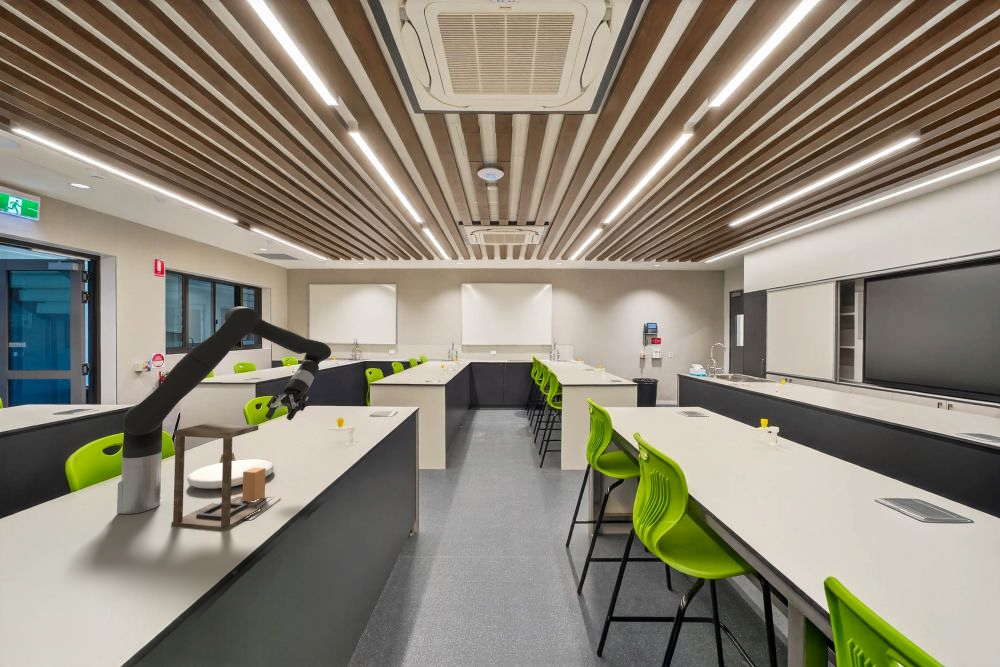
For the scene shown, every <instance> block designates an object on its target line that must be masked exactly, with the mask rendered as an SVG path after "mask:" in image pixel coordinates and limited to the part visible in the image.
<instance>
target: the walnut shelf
mask: <svg viewBox="0 0 1000 667" xmlns="http://www.w3.org/2000/svg"><path fill="white" fill-rule="evenodd" d="M255 431H259V424H246V423H245V424H242V423H222V422H220V423H218V422H207V423H202V424H198V425H193V426H189V427H184V428H181V429H176V430H173V436H174V437H175V443H174V444H175V446H174V448H175V449H174V475H173V476H174V479H173V480H174V482H173V514H172V516H173V517H172V521H171V527H173V526H174V527H182V528H191V527H192V528H193V529H202V530H212V529H214V530H213V531H222V530H223V531H224V532H226V531H228V530H229V528H230V529H231V528H234V527H235V526H237V525H239V524H240V523H242V522H244V521H245V520H244V519H245V518H246V517H247V516H249V515H250V514H252V513H254V512H256V511H258V510H259V509H261V510H262V507H261V506H249V504H248V503H244V502H243V503H242V502H241V503H239V502H232V487H231V473H232V452H233V438H235V437H239V436H241V435H242V436H243V435H245V434H250V433H253V432H255ZM187 437H190V438H209V439H222V441H223V442H222V454H223V471H222V488H221V502H220V503H219V502H218V503H214V502H212V503H210V504H208V505H206V506H203V507H201V508H199V509H196V510H195V511H192V512H190V513H188V514H186V515H183V513H184V485H185V484H184V480H185V451H186V450H185V448H186V445H185V444H186V443H185V442H186V441H185V440H186V438H187ZM243 520H244V521H243ZM241 521H242V522H241Z"/></svg>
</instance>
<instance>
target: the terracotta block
mask: <svg viewBox="0 0 1000 667" xmlns="http://www.w3.org/2000/svg"><path fill="white" fill-rule="evenodd" d="M262 497H265V498H266V477H265V468H255V467H254V468H251V469H249V470H246V471H244V472H243V484H242V500H246V501H255V500H257V499H260V498H262Z"/></svg>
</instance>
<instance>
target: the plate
mask: <svg viewBox="0 0 1000 667" xmlns="http://www.w3.org/2000/svg"><path fill="white" fill-rule="evenodd" d="M254 467H255V468H265V478H266V477H268V476H269V475H271V474H272V473H273V472H274V471H275V467H274V464H273V463H272V462H271V461H268V460H265V459H254V458H251V459H240V460H239V459H238V460H237V459H236V461H232V473H231V488H232V487H236V486H237V487H238V486H239V485H243V472H244V471H246V470H249V469H251V468H254ZM222 471H223V463H219V462H218V463H214V464H211V465H207V466H203V467H201V468H198V469H196V470H193V471H192V472H191V473H190V474H188V476H187V479H186V481H187V483H188V485H189V486H191V487H193V488H199V489H222Z"/></svg>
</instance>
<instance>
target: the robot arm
mask: <svg viewBox="0 0 1000 667" xmlns="http://www.w3.org/2000/svg"><path fill="white" fill-rule="evenodd" d="M224 321H225V322H224V323H223V324H222V325H221V326H220V327H219V328H218V329H217V331H215V332H214V333H213V334H212V335H210V336H209V337H208V338H206V339H204V340H203V341H201V342H200V343H199V344H197V345H196V346H194V347H193V348H192V349H191V350H189V351H188V352H187V353H186V354H185V355H184V356H182V358H181V359H180V360H179V361H178V362H176V364H175V365H174V366H173V367H172V369H171V370H170V371H169V372H168V373H167V375H165V377H164V379H163V380H162V381H161V382H160V383H159V385H158V387H157V388H156V389H155V390H153V391H152V393H150V394H149V395H148V396H147V397H146V398H144V399H143V400H142V401H141V402H140V403H138V404H135V405H133V406H132V407H130V408H129V409H128V410H126V413H125V414H124V417H123V419H122V426H123V441H122V452H121V457H122V458H121V480H120V481H119V482H118V483H117V498H116V514H117V515H119V514H123V515H131V514H133V515H134V514H139V513H144V512H148V511H150V510H153V509H155V508H157V507H159V505H161V492H162V490H161V489H162V488H161V484H162V483H161V482H162V458H163V457H162V453H163V452H162V451H163V425H164V424H163V423H164V420H165V419H166V418H167V417H168V415H169V414H170V413H171V412H172V410H173V409H174V408H175V407H176V406H177V404H178V403H179V402H181V400H182V399H184V398H185V397H186V396H187V395H188V394H189V393H191V392H192V391H193V390H194V389H195V388H196V387H197V386H198V385H200V383H202V382H203V380H205V379H206V378H207V377H208V376H209V375H210V373H211V372H212V371H213V370H215V368H216V367H217V366H218V365H219V364H220V363H221V362H222V361H223V359H225V357H226V356H227V355H228V354H229V352H231V350H232V349H233V348H234V347H235V346H236V345H237V344H238V343H239V342H240V341H241V340H243V339H244V338H245V337H246V336H247V335H248V334H251V335H254V336H257V337H260V338H263V339H264V340H267V341H269V342H272V343H273V344H276V345H277V346H279V347H281V348H284V349H287V350H288V351H291V352H293V353H295V354H299V355H302V354H305V355H304V356H303V359H302V361H301V364H300V365H299V367H298V369H297V370H296V371H295V372H294V374H293V375H292V376H291V378H290V380H289V382H287V384H286V385H285V387H284V391H283V392H282V394H278V393H274V394H273V395H272V397H271V398H270V400H269V401H268V402H267V404H266V405H265V406H266V407H267V408H268V411H267V412H266V414H265V419H267V420H271V419H272V418H273V416H274V414H275V413H276V411H277V410H279V409H282V408H284V407H290V410H289V412H288V413H287V416H286V417H285V418H286V420H288V421H292V419H294V417H295V416H296V414H297V413H298V412H299V411H301V412H303V411H304V410H305V409H306V406H307V404H308V402H309V400H310V398H309V396H308V395H307V392H308V391H309V389H310V387H311V385H312V384H313V381H314V379H315V377H316V375H317V374H318V372H319V369H320V367H319V365H320V363H321V362H323V361H325V360H327V359H329V358H330V356H331V355H332V350H331V347H330V346H329V345H328V344H326V343H325V342H322V341H318V340H315V339H311V338H310V339H309V338H306V337H304V336H301V335H300V334H298V333H295V332H292V331H291V330H289V329H285V328H284V327H283V328H282V327H280V326H277V325H274V324H272V323H270V322H267V321H265V320H264V319H262V318H260V317H259V314H258V312H257V311H256V310H255V309H253V308H250V307H248V306H235V307H231V308H229V309H228V310H227V311H226V313H225V315H224ZM291 407H292V408H291Z"/></svg>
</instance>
